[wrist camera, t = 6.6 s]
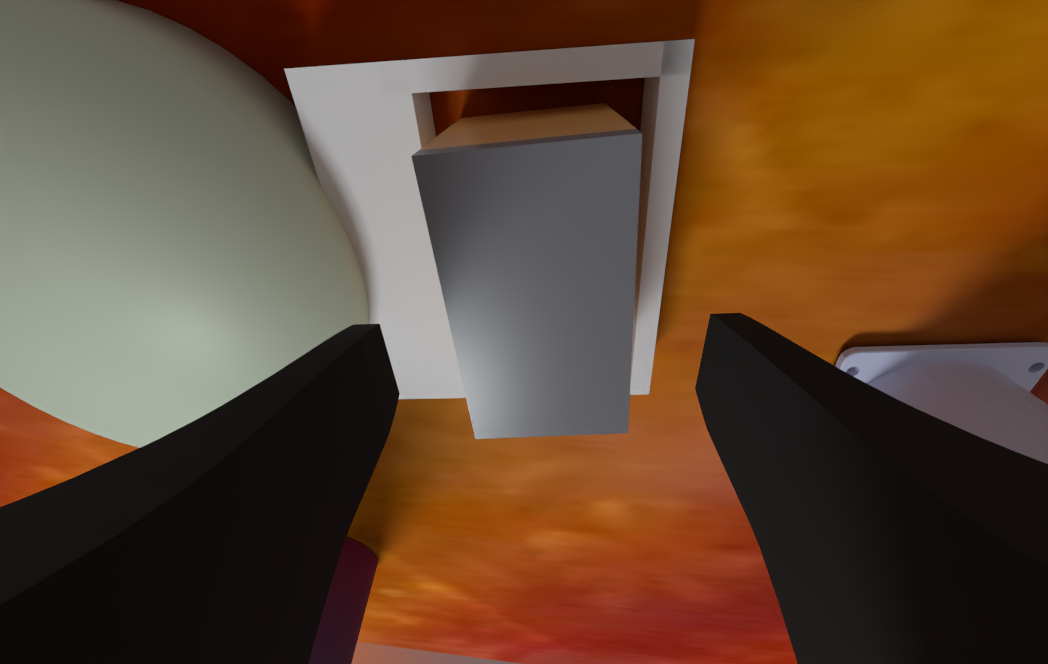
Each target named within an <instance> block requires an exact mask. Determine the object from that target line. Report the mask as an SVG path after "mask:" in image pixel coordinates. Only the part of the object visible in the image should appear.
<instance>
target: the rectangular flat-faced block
mask: <svg viewBox="0 0 1048 664" xmlns="http://www.w3.org/2000/svg"><path fill="white" fill-rule="evenodd" d="M641 152H642V133H641V132H640V131H639V130H638V129H636V128H635V127H634V126H633V125H631V124H630V123H629V122H628V121H626V120H625V119H624V118H623V117H622V116H620V115H619V114H618V113H617V112H615V111H614V110H613V109H612V108H610V107H609V106H608V105H607V104H605V103H599V104H589V105H580V106H570V107H561V108H551V109H542V110H532V111H523V112H513V113H504V114H494V115H485V116H475V117H466V118H460V119H459V120H457V121H456V122H455V123H454V124H452V125H451V126H450V127H448V128H447V129H446V130H444V131H443V132H442V133H441V134H439V135H438V136H437V137H435V138H434V139H433V140H431V141H430V142H429V143H428V144H426V145H425V146H424V147H422V148H421V149H420V150H418V151H417V152H416V153H415V154H413V155H412V156H411V157H412V161H413V166H414V170H415V175H416V179H417V183H418V188H419V192H420V197H421V201H422V206H423V210H424V214H425V219H426V223H427V228H428V232H429V236H430V241H431V245H432V250H433V254H434V259H435V263H436V267H437V272H438V276H439V281H440V285H441V290H442V294H443V298H444V303H445V307H446V312H447V316H448V320H449V325H450V329H451V334H452V338H453V343H454V347H455V351H456V356H457V360H458V365H459V369H460V374H461V378H462V382H463V387H464V391H465V396H466V400H467V405H468V409H469V413H470V418H471V422H472V427H473V431H474V435H475V439H489V438H514V437H539V436H564V435H590V434H615V433H628V423H629V402H630V381H631V360H632V339H633V318H634V298H635V277H636V256H637V235H638V214H639V193H640V173H641Z"/></svg>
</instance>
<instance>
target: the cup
mask: <svg viewBox="0 0 1048 664" xmlns="http://www.w3.org/2000/svg"><path fill="white" fill-rule="evenodd" d="M376 567H377V559H376V556H375V555H374V553H373V552H372V551H371V550H370V549H369V548H368V547H366V546H364V545H363V544H361V543H359V542H357V541H355V540H352V539H349V538H346V539H345V541H344V544H343V547H342V550H341V553H340V557H339V560H338V563H337V566H336V569H335V573H334V576H333V579H332V582H331V586H330V589H329V592H328V595H327V599H326V602H325V606H324V609H323V613H322V617H321V620H320V624H319V627H318V631H317V634H316V638H315V641H314V645H313V648H312V652H311V656H310V660H309V664H351V662H352V659H353V654H354V651H355V647H356V643H357V640H358V636H359V632H360V628H361V624H362V620H363V617H364V613H365V609H366V605H367V601H368V598H369V594H370V590H371V586H372V582H373V579H374V575H375V571H376Z"/></svg>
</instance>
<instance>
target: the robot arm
mask: <svg viewBox="0 0 1048 664" xmlns="http://www.w3.org/2000/svg"><path fill="white" fill-rule="evenodd" d="M851 367H852V368H851ZM849 368H851V369H849ZM848 369H849V370H848ZM1047 369H1048V343H1046V342H1025V343H987V344H949V345H911V346H873V347H853V348H849V349H847V350H845V351H844V352H842V353H841V355H840V356H839V358H838V360H837V363H836V365H835V366H834V365H832V364H830V363H828V362H826V361H825V360H823V359H821V358H819V357H818V356H816V355H814V354H813V353H811V352H809V351H807V350H806V349H804V348H802V347H801V346H799V345H797V344H795V343H794V342H792V341H790V340H789V339H787V338H785V337H784V336H782V335H780V334H778V333H777V332H775V331H773V330H772V329H770V328H768V327H766V326H765V325H763V324H761V323H759V322H757V321H756V320H754V319H752V318H750V317H748V316H746V315H744V314H741V313H725V314H710V319H709V324H708V329H707V334H706V339H705V344H704V349H703V354H702V358H701V363H700V368H699V373H698V378H697V383H696V388H695V389H696V393H697V396H698V400H699V403H700V407H701V411H702V414H703V417H704V420H705V424H706V427H707V430H708V432H709V434H710V437H711V439H712V441H713V443H714V446H715V448H716V450H717V452H718V454H719V457H720V459H721V461H722V463H723V466H724V468H725V470H726V472H727V474H728V476H729V479H730V481H731V483H732V485H733V487H734V489H735V492H736V494H737V496H738V498H739V500H740V503H741V505H742V507H743V509H744V511H745V513H746V516H747V518H748V520H749V522H750V524H751V527H752V529H753V532H754V534H755V537H756V539H757V542H758V544H759V546H760V549H761V552H762V555H763V558H764V561H765V564H766V567H767V570H768V573H769V576H770V578H771V581H772V584H773V587H774V590H775V593H776V596H777V599H778V602H779V605H780V609H781V612H782V615H783V618H784V621H785V624H786V628H787V631H788V634H789V637H790V640H791V643H792V647H793V650H794V653H795V656H796V659H797V663H798V664H1048V405H1047V404H1046V403H1045V402H1043V401H1042V400H1040V399H1039V398H1037V397H1036V396H1034V395H1033V394H1032V393H1030V391H1031V390H1032V388H1033V387H1034V386H1035V385H1036V383H1037V382H1038V381H1039V379H1040V378H1041V377H1042V375H1043V374H1044V373H1045V371H1046V370H1047ZM399 394H400V393H399V390H398V386H397V383H396V379H395V376H394V372H393V369H392V365H391V362H390V358H389V355H388V351H387V348H386V344H385V341H384V337H383V334H382V330H381V327H380V324H354V325H351V326H349V327H347V328H345V329H344V330H342V331H340V332H338V333H337V334H335V335H333V336H332V337H330V338H329V339H327V340H326V341H324V342H322V343H321V344H319V345H318V346H316V347H315V348H313V349H312V350H310V351H309V352H307V353H305V354H304V355H302V356H301V357H299V358H298V359H296V360H295V361H293V362H292V363H290V364H288V365H287V366H285V367H284V368H282V369H281V370H279V371H278V372H276V373H275V374H273V375H271V376H270V377H268V378H267V379H265V380H263V381H262V382H260V383H258V384H257V385H255V386H253V387H252V388H250V389H248V390H247V391H245V392H243V393H242V394H240V395H238V396H237V397H235V398H233V399H232V400H230V401H228V402H227V403H225V404H223V405H222V406H220V407H218V408H216V409H215V410H213V411H211V412H209V413H207V414H206V415H204V416H202V417H200V418H198V419H196V420H195V421H193V422H191V423H189V424H187V425H185V426H183V427H181V428H179V429H177V430H175V431H173V432H171V433H169V434H167V435H165V436H163V437H162V438H160V439H158V440H155V441H153V442H151V443H149V444H147V445H145V446H143V447H141V448H139V449H136V450H134V451H132V452H130V453H128V454H125V455H123V456H121V457H119V458H116V459H114V460H112V461H110V462H108V463H105V464H103V465H101V466H99V467H97V468H94V469H92V470H90V471H88V472H85V473H83V474H81V475H79V476H77V477H74V478H72V479H70V480H67V481H65V482H62V483H60V484H58V485H55V486H53V487H50V488H48V489H45V490H43V491H40V492H38V493H35V494H33V495H30V496H28V497H26V498H23V499H21V500H18V501H15V502H13V503H10V504H8V505H5V506H2V507H0V664H309V660H310V656H311V652H312V648H313V645H314V641H315V638H316V634H317V631H318V627H319V624H320V620H321V617H322V613H323V609H324V606H325V602H326V599H327V595H328V592H329V589H330V586H331V582H332V579H333V576H334V573H335V569H336V566H337V563H338V560H339V557H340V553H341V550H342V547H343V544H344V541H345V539H346V536H347V533H348V531H349V528H350V525H351V523H352V520H353V518H354V516H355V513H356V511H357V509H358V506H359V504H360V502H361V499H362V497H363V495H364V492H365V490H366V488H367V485H368V483H369V481H370V478H371V476H372V474H373V471H374V469H375V466H376V464H377V462H378V459H379V457H380V455H381V452H382V450H383V447H384V445H385V442H386V440H387V437H388V435H389V432H390V429H391V425H392V422H393V418H394V415H395V411H396V407H397V402H398V398H399Z"/></svg>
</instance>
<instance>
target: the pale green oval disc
mask: <svg viewBox="0 0 1048 664" xmlns="http://www.w3.org/2000/svg"><path fill="white" fill-rule="evenodd" d="M694 42H695V39H686V40H673V41H659V42H645V43H631V44H618V45H604V46H590V47H576V48H562V49H549V50H535V51H521V52H507V53H494V54H480V55H466V56H452V57H439V58H425V59H411V60H397V61H384V62H370V63H356V64H342V65H329V66H315V67H301V68H287V69H284V70H285V74H286V77H287V80H288V83H289V86H290V90H291V93H292V96H293V99H294V102H295V106H296V107H295V106H294V105H293V104H292V102H290V101H289V100H288V99H287V98H286V97H285V96H284V95H283V94H281V93H280V92H279V91H278V90H277V89H276V88H275V87H274V86H273V85H271V84H270V83H269V82H268V81H267V80H266V79H265V78H264V77H262V76H261V75H260V74H259V73H257V72H256V71H255V70H253V69H252V68H251V67H249V66H248V65H247V64H245V63H244V62H242V61H241V60H240V59H238V58H237V57H236V56H234V55H233V54H231V53H230V52H229V51H227V50H226V49H224V48H223V47H221V46H219V45H217V44H216V43H214V42H212V41H211V40H209V39H207V38H205V37H204V36H202V35H200V34H199V33H197V32H195V31H193V30H192V29H190V28H188V27H186V26H184V25H181V24H179V23H177V22H175V21H172V20H170V19H168V18H166V17H163V16H161V15H159V14H157V13H155V12H152V11H150V10H147V9H144V8H140V7H137V6H134V5H131V4H127V3H124V2H121V1H117V0H0V387H1V388H2V389H4V390H5V391H7V392H9V393H11V394H13V395H14V396H16V397H18V398H20V399H21V400H23V401H25V402H27V403H29V404H30V405H32V406H34V407H36V408H38V409H40V410H42V411H44V412H46V413H48V414H50V415H52V416H54V417H56V418H58V419H61V420H63V421H65V422H67V423H70V424H72V425H75V426H77V427H79V428H82V429H84V430H87V431H89V432H91V433H94V434H97V435H100V436H103V437H106V438H109V439H112V440H115V441H118V442H121V443H125V444H128V445H132V446H136V447H139V448H141V447H143V446H145V445H147V444H149V443H151V442H153V441H155V440H158V439H160V438H162V437H163V436H165V435H167V434H169V433H171V432H173V431H175V430H177V429H179V428H181V427H183V426H185V425H187V424H189V423H191V422H193V421H195V420H196V419H198V418H200V417H202V416H204V415H206V414H207V413H209V412H211V411H213V410H215V409H216V408H218V407H220V406H222V405H223V404H225V403H227V402H228V401H230V400H232V399H233V398H235V397H237V396H238V395H240V394H242V393H243V392H245V391H247V390H248V389H250V388H252V387H253V386H255V385H257V384H258V383H260V382H262V381H263V380H265V379H267V378H268V377H270V376H271V375H273V374H275V373H276V372H278V371H279V370H281V369H282V368H284V367H285V366H287V365H288V364H290V363H292V362H293V361H295V360H296V359H298V358H299V357H301V356H302V355H304V354H305V353H307V352H309V351H310V350H312V349H313V348H315V347H316V346H318V345H319V344H321V343H322V342H324V341H326V340H327V339H329V338H330V337H332V336H333V335H335V334H337V333H338V332H340V331H342V330H344V329H345V328H347V327H349V326H351V325H354V324H380V327H381V330H382V334H383V337H384V341H385V344H386V348H387V351H388V355H389V358H390V362H391V365H392V369H393V372H394V376H395V379H396V383H397V386H398V390H399V393H400V394H399V398H398V399H437V398H466V396H465V391H464V387H463V382H462V378H461V374H460V369H459V365H458V360H457V356H456V351H455V347H454V343H453V338H452V334H451V329H450V325H449V320H448V316H447V312H446V307H445V303H444V298H443V294H442V290H441V285H440V281H439V276H438V272H437V267H436V263H435V259H434V254H433V250H432V245H431V241H430V236H429V232H428V228H427V223H426V219H425V214H424V210H423V206H422V201H421V197H420V192H419V188H418V183H417V179H416V175H415V170H414V166H413V161H412V157H411V156H412V155H413V154H415V153H416V152H417V151H418V150H420V149H421V148H422V147H424V146H425V145H426V144H428V143H429V142H430V141H431V140H433V139H434V138H435V137H436V132H435V126H434V119H433V113H432V107H431V100H430V94H429V92H437V91H452V90H467V89H482V88H497V87H512V86H526V85H541V84H556V83H571V82H586V81H601V80H615V79H630V78H644V91H643V103H642V116H641V128H640V132H641V133H642V152H641V173H640V193H639V214H638V235H637V256H636V277H635V298H634V318H633V339H632V360H631V381H630V395H637V394H649V390H650V382H651V374H652V367H653V359H654V351H655V343H656V336H657V328H658V320H659V313H660V305H661V297H662V289H663V282H664V274H665V266H666V258H667V251H668V243H669V235H670V228H671V220H672V212H673V204H674V197H675V189H676V181H677V173H678V166H679V158H680V150H681V142H682V135H683V127H684V119H685V112H686V104H687V96H688V88H689V81H690V73H691V65H692V57H693V50H694Z"/></svg>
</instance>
